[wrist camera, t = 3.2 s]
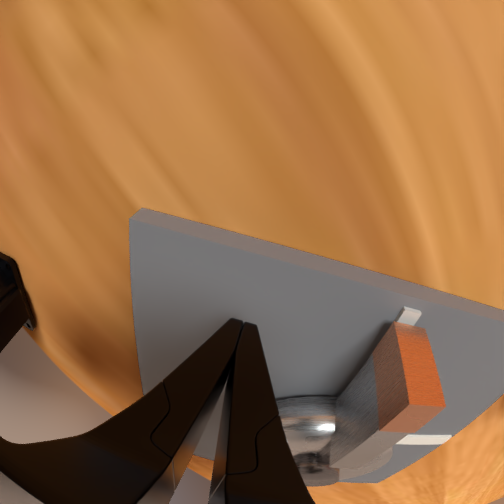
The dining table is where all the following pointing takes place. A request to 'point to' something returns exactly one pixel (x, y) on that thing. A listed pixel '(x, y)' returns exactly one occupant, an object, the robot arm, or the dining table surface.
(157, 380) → the plate
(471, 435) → the dining table surface
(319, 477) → the dial
